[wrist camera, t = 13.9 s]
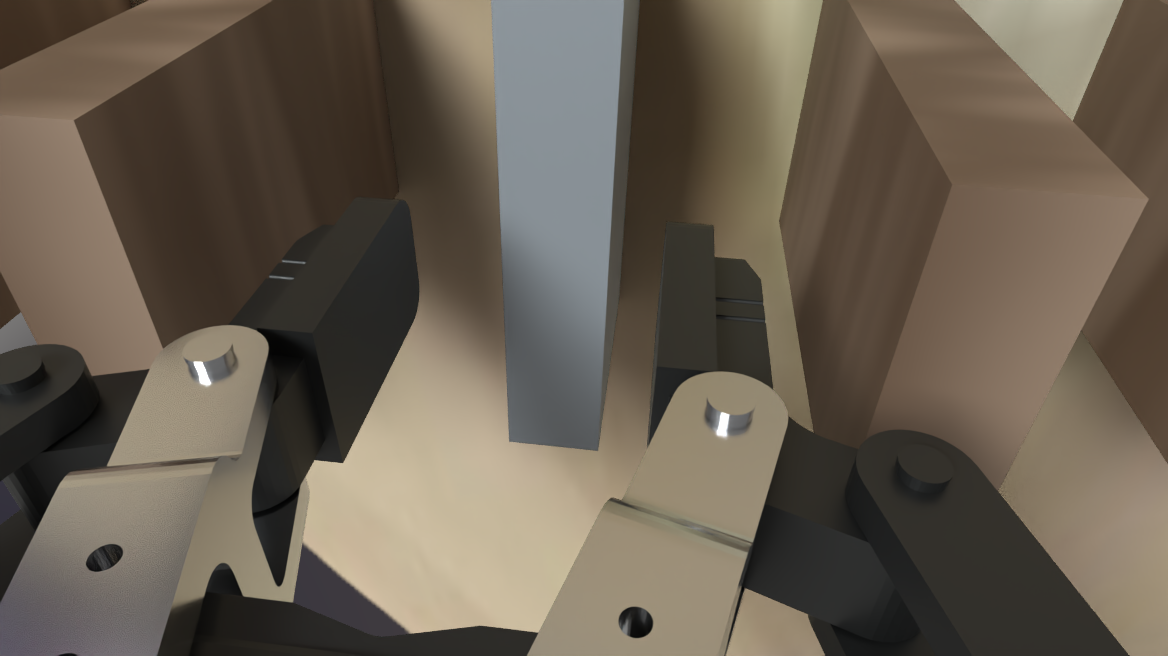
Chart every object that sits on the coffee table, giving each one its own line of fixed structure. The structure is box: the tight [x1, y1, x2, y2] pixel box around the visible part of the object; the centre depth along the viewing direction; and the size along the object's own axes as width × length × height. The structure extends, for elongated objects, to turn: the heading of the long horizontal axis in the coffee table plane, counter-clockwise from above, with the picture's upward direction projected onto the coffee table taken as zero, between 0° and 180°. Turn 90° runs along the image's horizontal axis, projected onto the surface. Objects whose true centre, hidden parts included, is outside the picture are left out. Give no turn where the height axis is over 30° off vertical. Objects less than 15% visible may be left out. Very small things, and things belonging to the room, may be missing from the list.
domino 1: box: [0, 0, 399, 376], centre depth 15 cm, size 2×6×10 cm, turn 179°
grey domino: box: [491, 0, 640, 451], centre depth 17 cm, size 2×6×10 cm
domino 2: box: [779, 0, 1149, 491], centre depth 14 cm, size 2×6×10 cm, turn 179°
